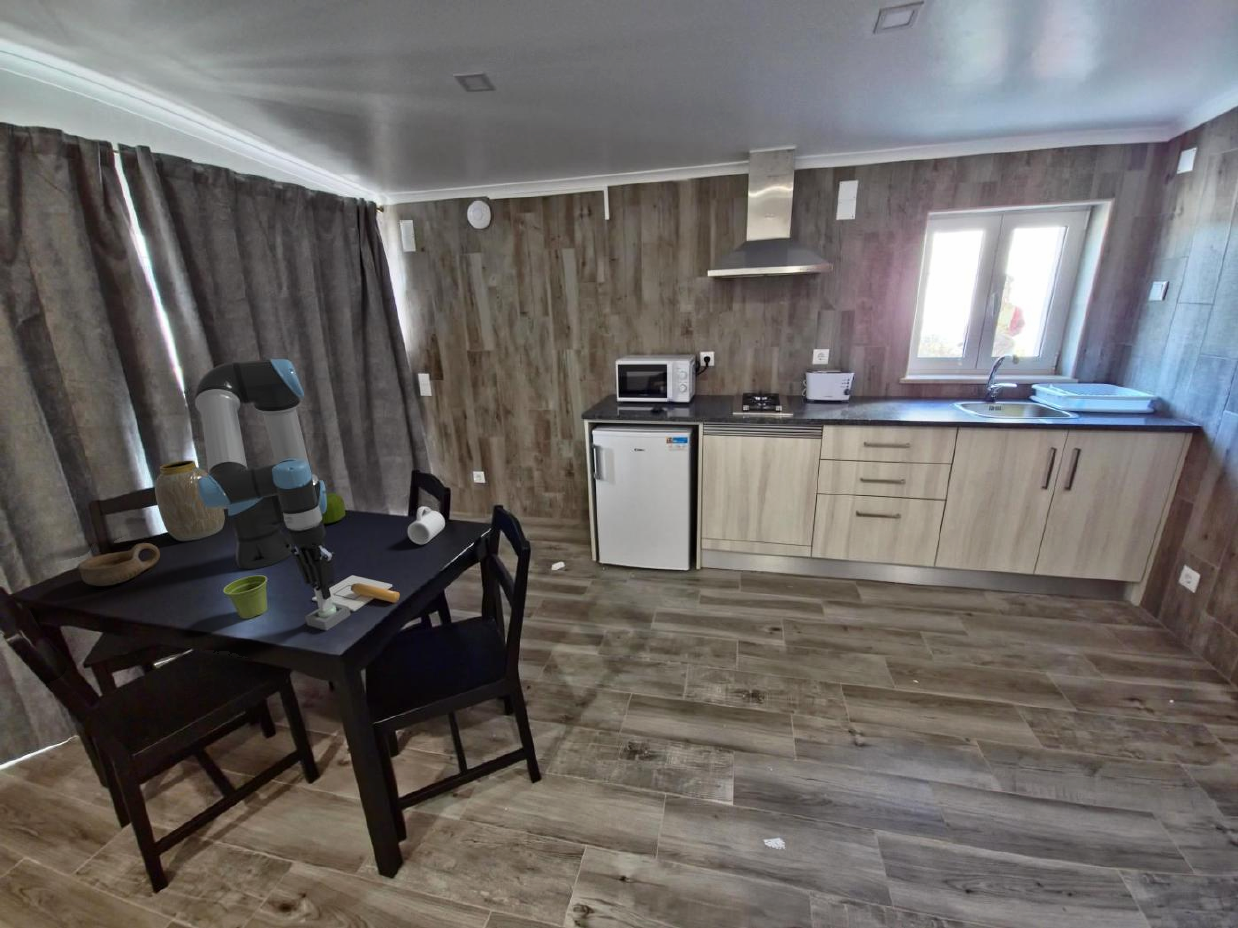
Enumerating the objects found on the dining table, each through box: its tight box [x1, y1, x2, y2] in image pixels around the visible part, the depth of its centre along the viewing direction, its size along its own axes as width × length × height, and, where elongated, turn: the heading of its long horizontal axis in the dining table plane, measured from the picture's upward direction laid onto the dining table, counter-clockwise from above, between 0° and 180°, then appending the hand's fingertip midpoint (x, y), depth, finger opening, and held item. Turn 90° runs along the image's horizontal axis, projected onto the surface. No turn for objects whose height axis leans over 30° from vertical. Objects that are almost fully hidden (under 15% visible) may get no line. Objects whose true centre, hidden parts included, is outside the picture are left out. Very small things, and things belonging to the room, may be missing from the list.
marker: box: [351, 583, 400, 604], centre depth 137 cm, size 3×3×14 cm
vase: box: [154, 460, 226, 542], centre depth 181 cm, size 17×17×27 cm
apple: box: [321, 493, 346, 525], centre depth 190 cm, size 11×11×11 cm
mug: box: [407, 505, 446, 545], centre depth 171 cm, size 8×10×12 cm
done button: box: [318, 605, 337, 619], centre depth 128 cm, size 4×4×3 cm
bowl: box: [76, 542, 161, 587], centre depth 154 cm, size 18×14×10 cm
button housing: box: [305, 602, 352, 631], centre depth 128 cm, size 7×7×2 cm
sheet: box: [311, 574, 393, 612], centre depth 141 cm, size 16×13×1 cm
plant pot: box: [222, 574, 268, 620], centre depth 132 cm, size 9×9×9 cm
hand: (326, 608), depth 128 cm, fingers closed
